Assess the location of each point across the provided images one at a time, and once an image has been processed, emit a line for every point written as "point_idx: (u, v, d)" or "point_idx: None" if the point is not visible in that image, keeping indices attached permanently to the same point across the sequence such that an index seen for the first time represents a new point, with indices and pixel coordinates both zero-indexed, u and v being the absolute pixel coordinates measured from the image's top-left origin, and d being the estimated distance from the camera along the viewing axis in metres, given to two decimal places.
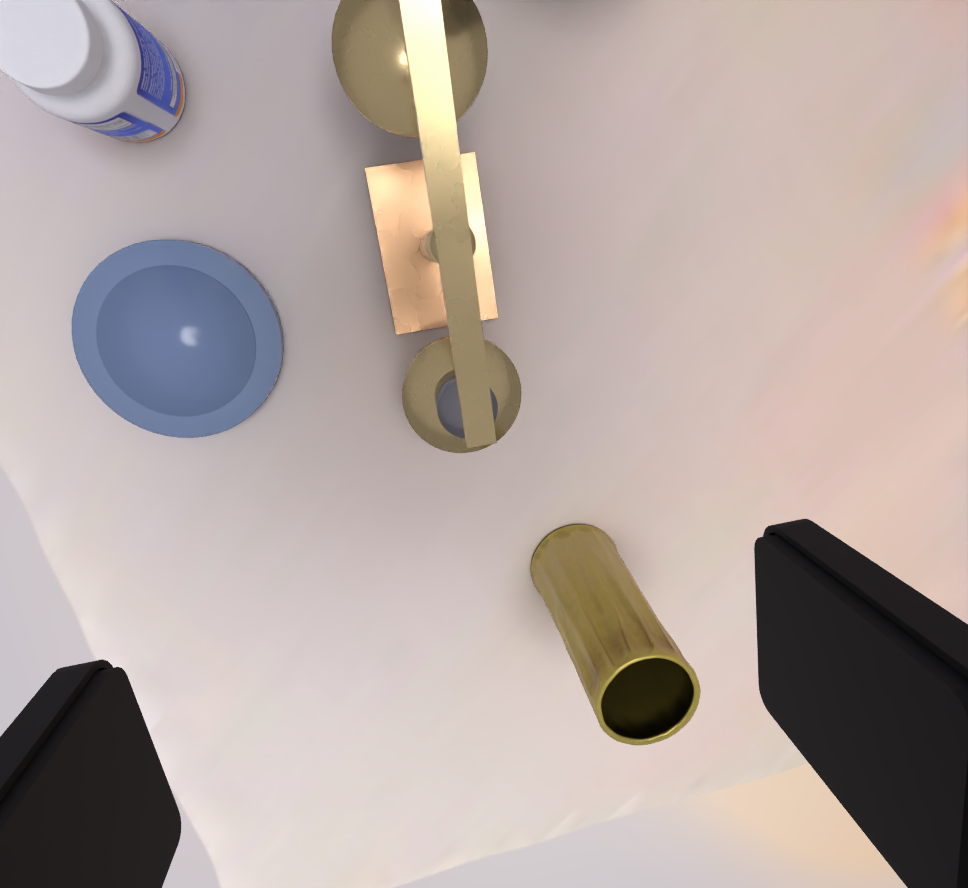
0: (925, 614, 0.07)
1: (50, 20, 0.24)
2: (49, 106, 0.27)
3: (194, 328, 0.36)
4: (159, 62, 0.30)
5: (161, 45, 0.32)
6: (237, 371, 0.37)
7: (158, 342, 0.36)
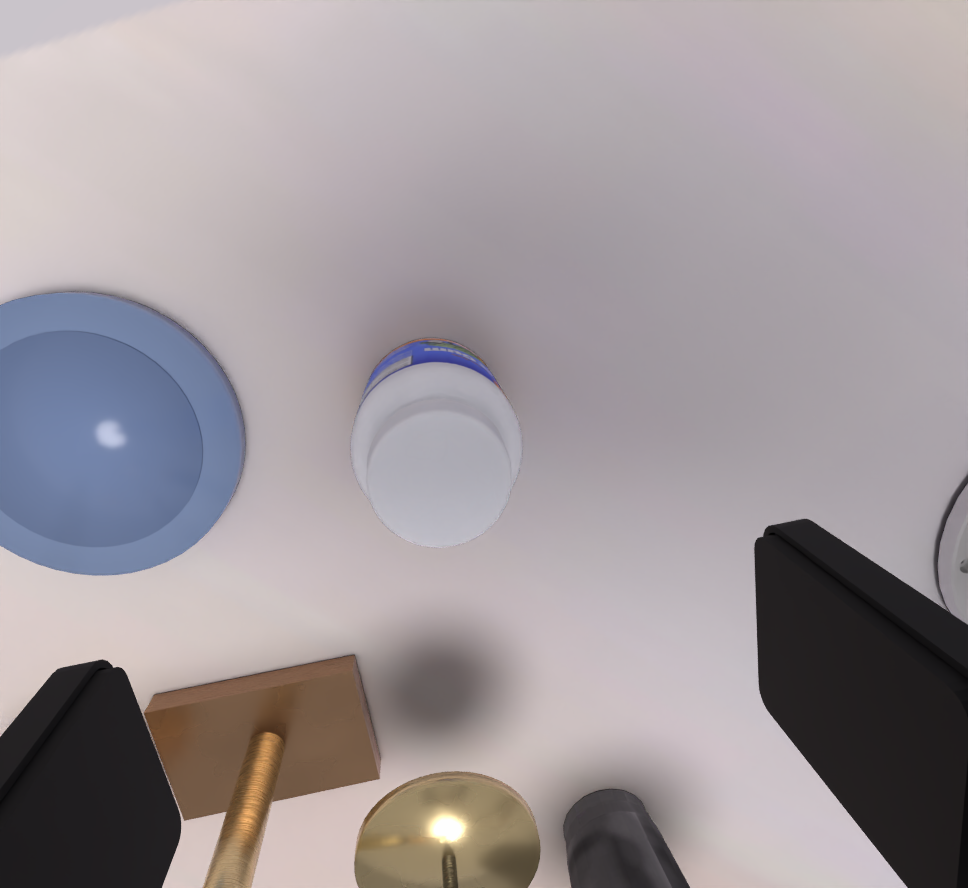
0: (925, 614, 0.07)
1: (452, 506, 0.18)
2: (362, 428, 0.19)
3: (113, 467, 0.25)
4: None
5: None
6: (53, 520, 0.25)
7: (81, 419, 0.24)
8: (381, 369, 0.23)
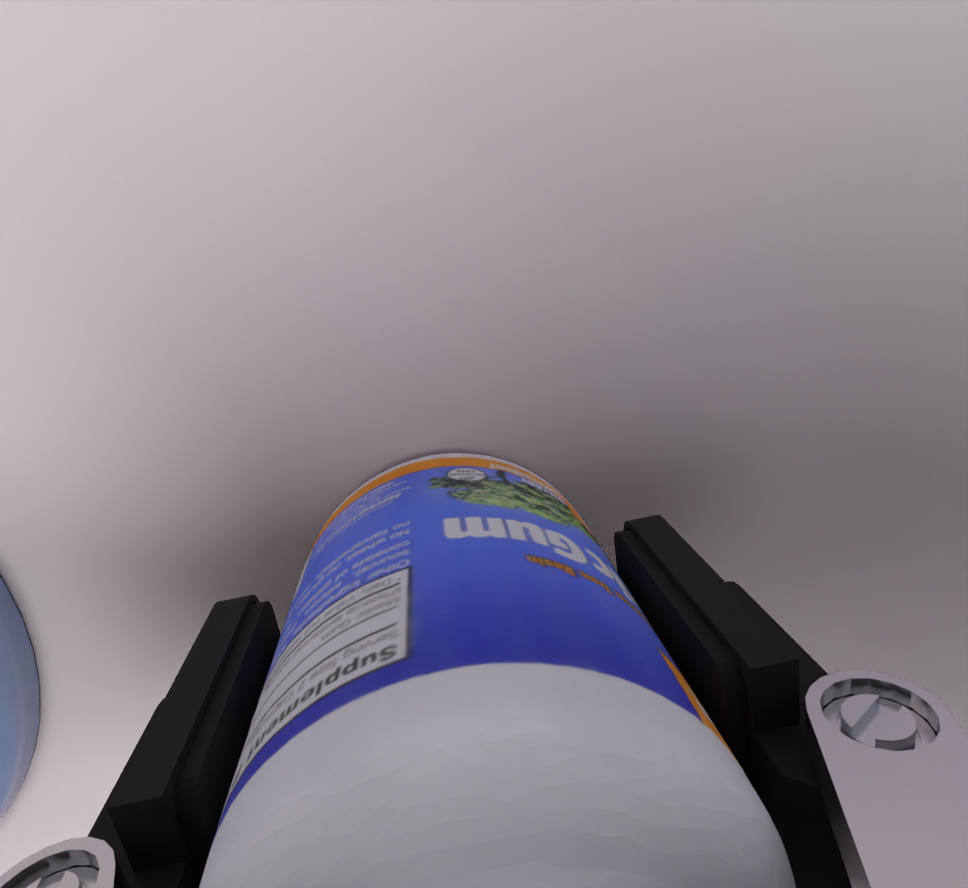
0: (718, 598, 0.08)
1: None
2: None
3: None
4: None
5: None
6: None
7: None
8: (324, 587, 0.08)
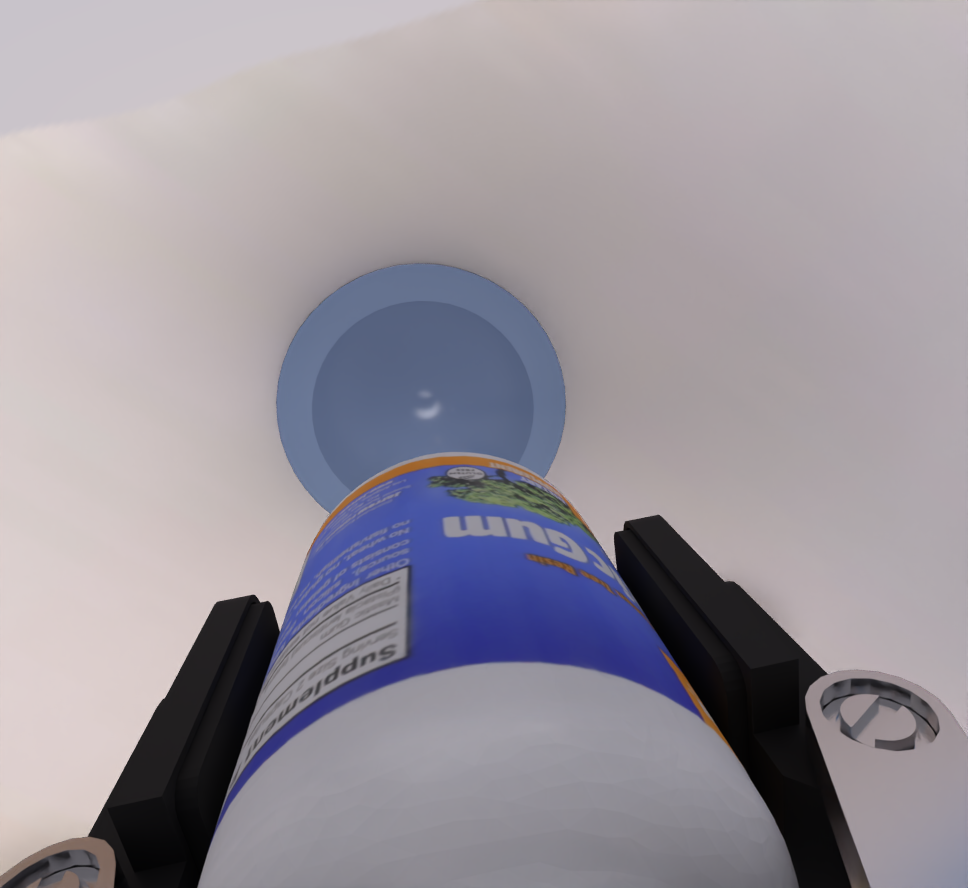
0: (718, 599, 0.08)
1: None
2: None
3: (446, 437, 0.25)
4: None
5: None
6: None
7: (426, 388, 0.24)
8: (323, 586, 0.08)
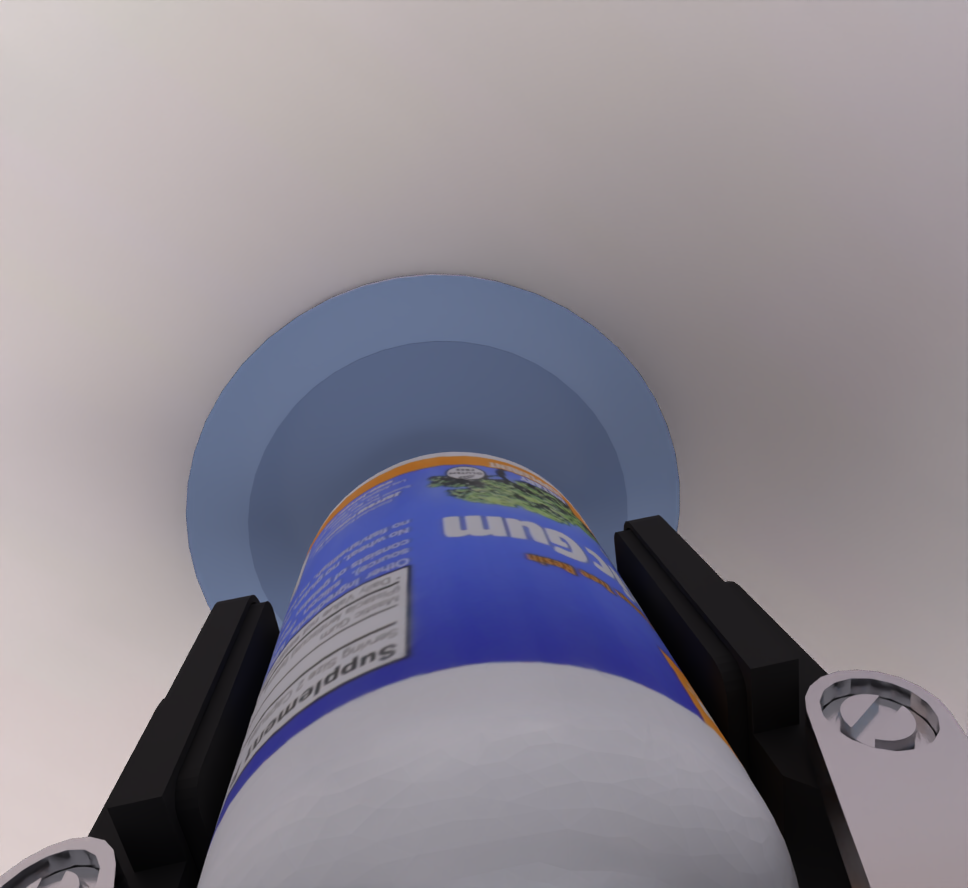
0: (718, 598, 0.08)
1: None
2: None
3: None
4: None
5: None
6: None
7: None
8: (322, 586, 0.08)
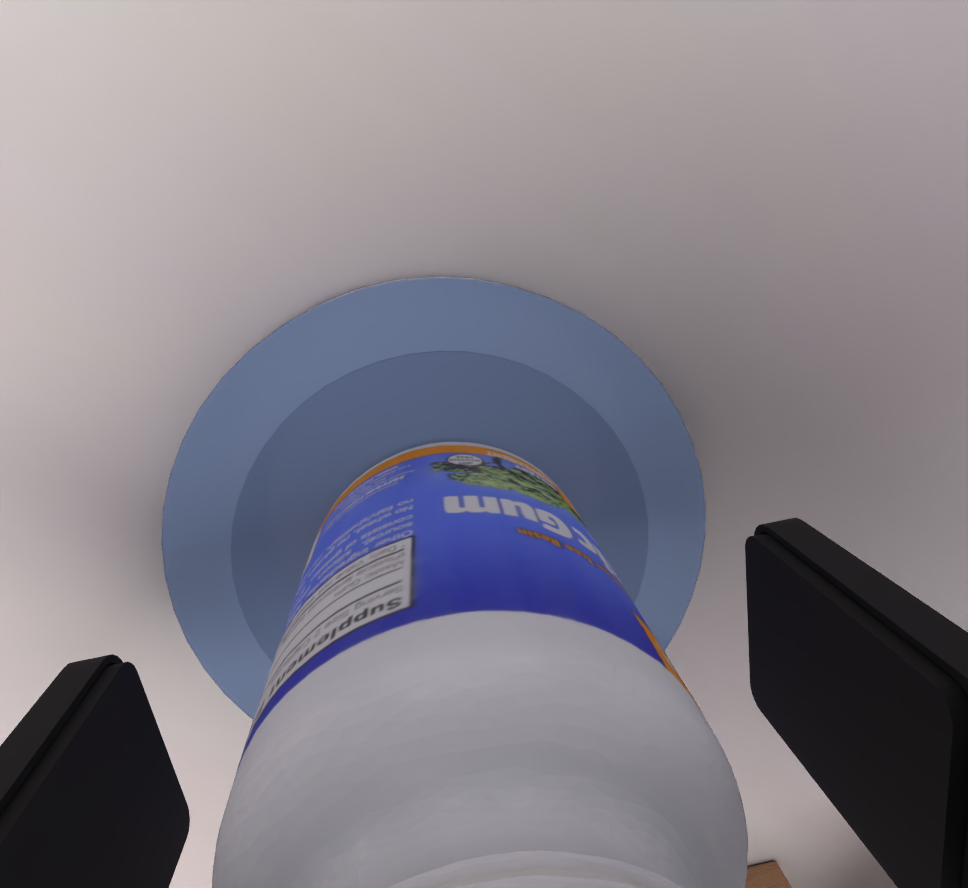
0: (910, 612, 0.07)
1: None
2: (240, 864, 0.06)
3: None
4: None
5: None
6: None
7: None
8: (335, 555, 0.09)
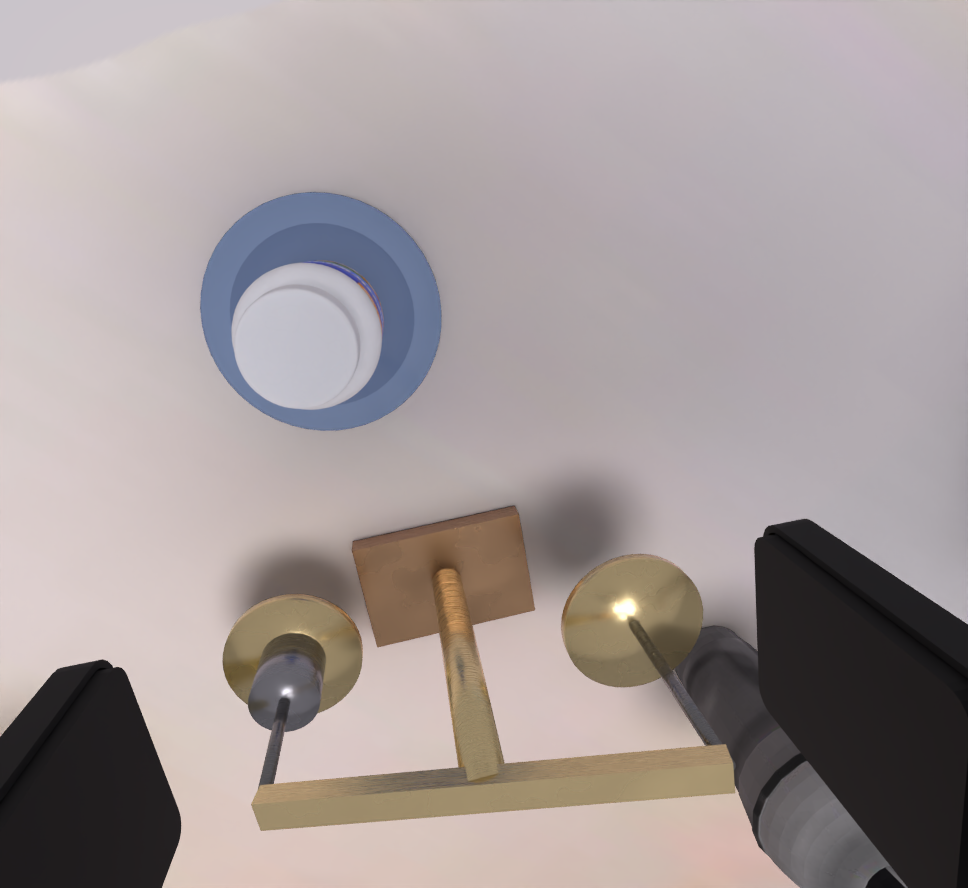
0: (925, 614, 0.07)
1: (308, 372, 0.21)
2: (238, 315, 0.23)
3: None
4: None
5: None
6: None
7: None
8: None
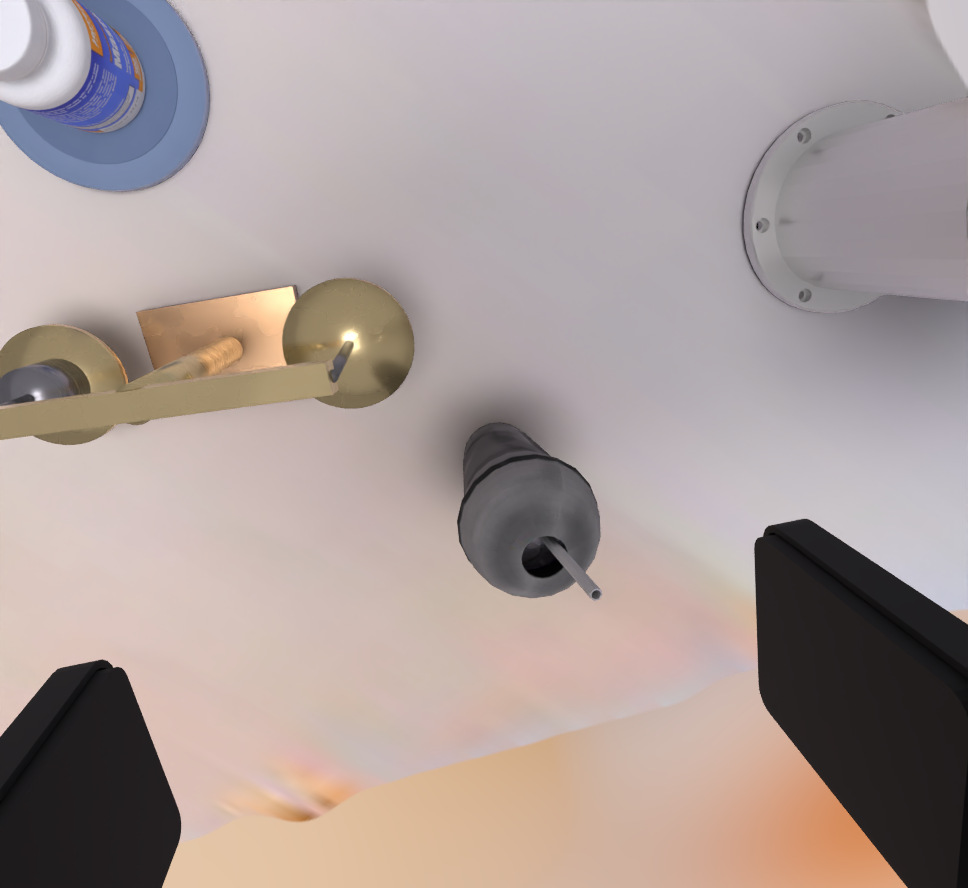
0: (925, 614, 0.07)
1: None
2: None
3: None
4: (71, 120, 0.31)
5: (114, 119, 0.33)
6: (69, 140, 0.35)
7: None
8: None
